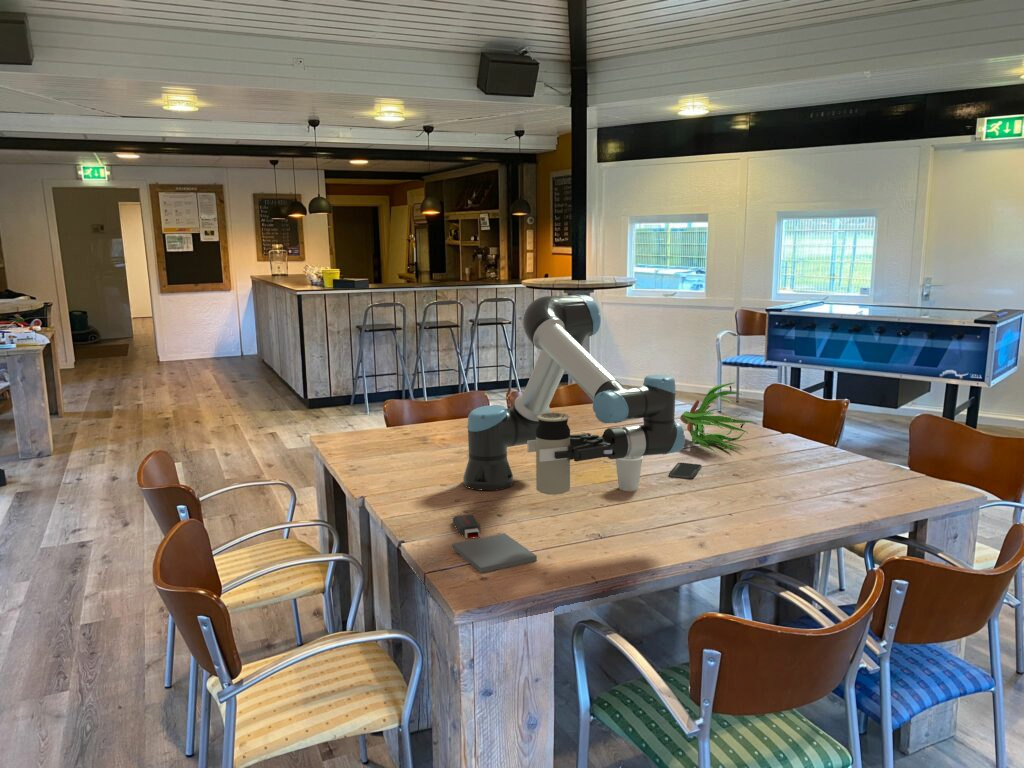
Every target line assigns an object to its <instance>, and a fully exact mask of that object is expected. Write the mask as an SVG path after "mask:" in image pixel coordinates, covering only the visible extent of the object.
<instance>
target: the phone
mask: <svg viewBox="0 0 1024 768" xmlns="http://www.w3.org/2000/svg"><path fill="white" fill-rule="evenodd" d="M702 467H703V466H702V464H699V463H698V464H697V463H689V462H677V463H676V465H675V466H673V468H672V469H671V470H670V471H669V473H668V477H670V478H676V479H682V480H683V479H684V480H695V478H696V476H697V475H698V474H699V472H700V471H701V470H702ZM694 477H695V478H694Z"/></svg>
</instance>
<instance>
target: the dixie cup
mask: <svg viewBox="0 0 1024 768" xmlns="http://www.w3.org/2000/svg"><path fill="white" fill-rule="evenodd" d="M643 459H644V456H636V457H635V459H632V458H631V457H624V458H619V459H615V465H616V474H617V475H616V476H617V484H618V486H617V487H618V489H619V490H620V491H622V490H623V492H636V491H638V490H639V485H640V484H639V483H640V479H641V478H640V477H641V470H642V464H643Z"/></svg>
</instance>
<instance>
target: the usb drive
mask: <svg viewBox="0 0 1024 768" xmlns="http://www.w3.org/2000/svg"><path fill="white" fill-rule="evenodd" d="M453 523H454V524H453ZM452 524H453V526H454V525H455V526H456V527H455V526H454V527H455V529H456V528H457V529H456V531H457V530H458V531H457V532H458V533H460V534H461V535H460V534H459V535H460V536H462V535H463V536H462V537H465V539H466V538H470V539H474V538H473V537H478V538H481V535H480V533H481V526H480V523H478V521H477V520H476V518H475V516H473V514H470V513H469V514H461V515H454V516H453V517H452Z"/></svg>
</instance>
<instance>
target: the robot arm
mask: <svg viewBox="0 0 1024 768" xmlns="http://www.w3.org/2000/svg"><path fill="white" fill-rule="evenodd" d="M601 317H602V316H601V312H600V308H599V306H598V303H597V302H596V301H595V300H594V299H593V297H591V296H590V295H587V294H578V293H575V294H572V295H571V294H570V295H551V296H550V295H549V296H547V295H546V296H542V297H537V299H535V300H533V301H532V302H531V303H530V304H529V305H528V306H527V308H526V309H525V311H524V313H523V318H522V320H523V323H522V325H523V330H524V333H525V335H526V337H527V339H528V340H529V341H530V342H531V344H533V345H534V347H535V348H536V349H538V350H540V353H539V355H538V358H537V360H536V362H535V364H534V367H533V369H532V371H531V375H530V376H529V378H528V379H529V380H528V382H527V384H526V386H525V388H524V391H523V392H522V394H521V395H518V396H517V397H516V398H515V399H514V401H513V405H512V407H510V408H506V406H505V405H501V404H492V405H489V404H488V405H484V406H479V407H476V408H474V409H473V410H471V411H470V412H469V414H468V417H467V426H466V427H467V437H468V443H467V444H468V445H467V447H468V460H467V464H466V468H465V471H464V474H463V477H462V479H463V486H464V485H465V486H467V487H470V488H473V489H472V490H474V489H482V490H491V491H497V490H496V489H500V490H503V489H502V488H504V489H507V488H510V487H511V486H512V485H513V484H514V474H513V473H512V469H511V467H510V463H509V460H508V448H511V447H515V446H516V447H517V446H522V445H526V446H527V452H528V453H536V429H537V427H538V425H539V421H538V418H537V416H538V415H539V414H543V413H552V410H551V408H550V407H551V406H550V404H551V402H552V400H553V398H554V395H555V393H556V392H557V389H558V387H559V385H560V382H561V379H562V378H563V376H564V373H566V374H567V375H568V376H569V378H571V379H572V380H573V381H574V382H575V383H576V384H577V385H578V387H579V388H580V389H581V390H582V391H584V392H585V393H586V395H587V396H588V397H589V398H590V399H591V400H592V410H593V413H595V418H596V419H597V420H598V421H599V422H601V423H603V424H618V423H622V422H627V421H632V420H638V419H642V421H643V424H641V425H640V424H639V425H637V424H636V425H627V426H626V425H625V426H622V427H620V426H616V427H608V428H606V429H605V430H604V432H603V433H602V435H601V436H600V435H598V434H592V435H591V433H589V432H588V433H580V434H570V446H569V445H568V450H567V447H560V448H549V449H540V462H543V461H553V460H563V459H567V458H568V459H570V461H571V460H573V461H574V462H582V461H588V460H593V459H600V458H608V459H609V460H616V459H619V458H624V457H631V458H632V459H635V457H636V456H643V457H645V456H657V455H668V454H674V453H678V452H680V451H681V450H682V449H683V448H684V446H685V444H686V435H685V434H684V433H685V430H684V427H683V426H682V425H681V424H680V423H679V422H676V420H675V415H676V414H675V411H676V410H675V409H676V395H677V393H676V380H675V378H674V377H672V376H670V375H665V374H649V375H646V376H645V377H644V379H643V385H640V386H633V387H625V386H624V385H623V384H622V383H621V382H620V381H619V380H618V379H617V378H615V377H614V376H613V374H611V373H610V371H609V370H607V368H605V367H604V366H603V365H602V364H601V363H600V362H599V361H598V360H597V359H596V358H595V357H594V356H593V355H592V354H591V353H590V352H589V351H587V350H586V348H585V347H583V345H584V342H585V340H586V338H587V337H592V336H594V335H596V334H597V332H598V331H599V329H600V326H601ZM465 486H464V487H465ZM509 486H510V487H509ZM467 487H466V488H467ZM506 487H507V488H506ZM470 488H469V489H470ZM482 490H481V491H482Z"/></svg>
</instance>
